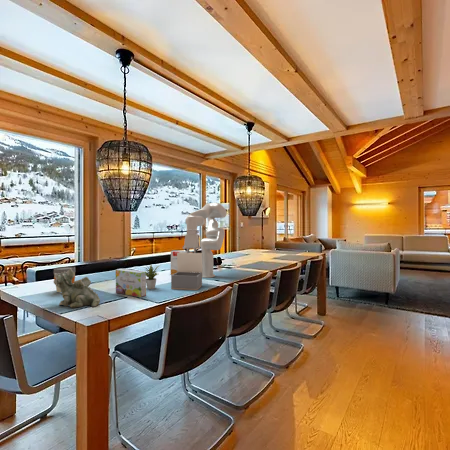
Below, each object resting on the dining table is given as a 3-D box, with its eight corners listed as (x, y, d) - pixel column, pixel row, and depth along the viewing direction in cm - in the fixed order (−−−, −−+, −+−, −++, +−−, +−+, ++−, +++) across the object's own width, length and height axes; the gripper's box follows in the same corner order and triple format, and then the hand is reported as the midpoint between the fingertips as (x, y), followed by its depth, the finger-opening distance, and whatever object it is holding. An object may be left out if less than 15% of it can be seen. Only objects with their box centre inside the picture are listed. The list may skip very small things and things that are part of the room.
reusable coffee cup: (48, 292, 186) (48, 268, 186) (66, 288, 198) (66, 266, 198) (63, 294, 182) (63, 270, 181) (80, 290, 193) (80, 267, 193)
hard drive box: (170, 274, 249) (170, 251, 249) (173, 273, 256) (173, 250, 256) (188, 275, 246) (188, 251, 246) (190, 273, 254) (190, 250, 254)
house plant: (153, 284, 211) (153, 261, 211) (166, 287, 203) (166, 263, 203) (136, 288, 199) (136, 264, 199) (150, 291, 191) (150, 266, 191)
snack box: (114, 293, 186) (114, 269, 185) (121, 291, 191) (121, 268, 190) (140, 297, 176) (140, 272, 176) (146, 295, 181) (146, 270, 181)
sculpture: (66, 298, 172) (65, 264, 172) (108, 301, 167) (108, 266, 167) (43, 306, 156) (43, 269, 156) (89, 310, 151) (89, 271, 150)
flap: (201, 253, 207) (203, 251, 214) (177, 252, 210) (179, 250, 216) (202, 272, 209) (204, 270, 216) (177, 271, 212) (180, 269, 218)
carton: (177, 284, 212) (177, 271, 212) (202, 285, 209) (202, 272, 209) (171, 288, 198) (171, 275, 198) (197, 289, 196) (197, 276, 195)
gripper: (204, 232, 217) (203, 257, 217) (182, 232, 220) (181, 257, 219) (201, 232, 210) (201, 258, 210) (179, 232, 212) (178, 258, 212)
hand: (191, 257), depth 215 cm, fingers closed on flap, 3 cm apart
